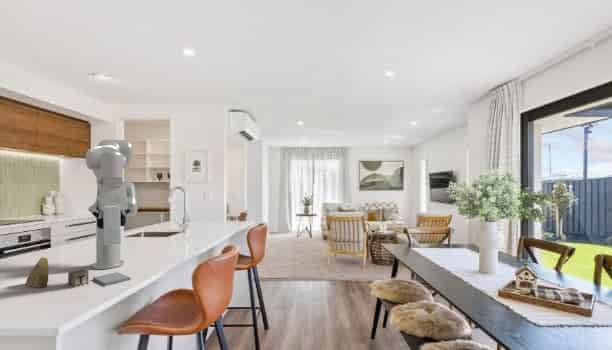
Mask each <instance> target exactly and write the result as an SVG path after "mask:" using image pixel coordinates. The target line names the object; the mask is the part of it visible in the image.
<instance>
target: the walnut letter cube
mask: <svg viewBox="0 0 612 350" xmlns="http://www.w3.org/2000/svg"><path fill="white" fill-rule="evenodd" d="M67 278H68V279H67V286H69V285H70V286H69V287H71V286H72V287H71V288H76V287H75V286H78V287H81V286H80V285H82V286H85V285H84V284H86V285H89V270H87V269H84V268H81V269H76V270H72V271H68V274H67Z"/></svg>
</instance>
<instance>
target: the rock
mask: <svg viewBox="0 0 612 350" xmlns="http://www.w3.org/2000/svg"><path fill="white" fill-rule="evenodd" d="M48 261H49V260H48V258H46V257H41V258H40V259H39V260H38V261H37V262H36V264H35V265H34V267H33V268H32V269H31V271H30V272H29V275H28V276H27V278H26V281H25V283H24V285H26V286H27V287H30V288H31V287H33V288H46V287H47V286H48V283H49V262H48Z"/></svg>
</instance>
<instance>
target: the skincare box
mask: <svg viewBox="0 0 612 350" xmlns="http://www.w3.org/2000/svg"><path fill="white" fill-rule="evenodd" d="M121 227H122V226H120V206H108V207H104V211H103V242H104V245H108V244H120V245H121V244H122V236H121V235H122V234H121V232H122V230H121Z"/></svg>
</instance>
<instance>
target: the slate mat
mask: <svg viewBox="0 0 612 350" xmlns="http://www.w3.org/2000/svg"><path fill="white" fill-rule="evenodd" d="M94 280H95V281H94ZM92 281H94V282H96V283H98V284H101V285H102V286H105V287H106V286H110V285H115V284H119V282H120V283H123V281H124V282H127V281H131V277H130V276H128V275H125V274H123V273H120V272H118V271H116V272H112V273H108V274H103V275H98V276H93V277H92Z"/></svg>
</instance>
